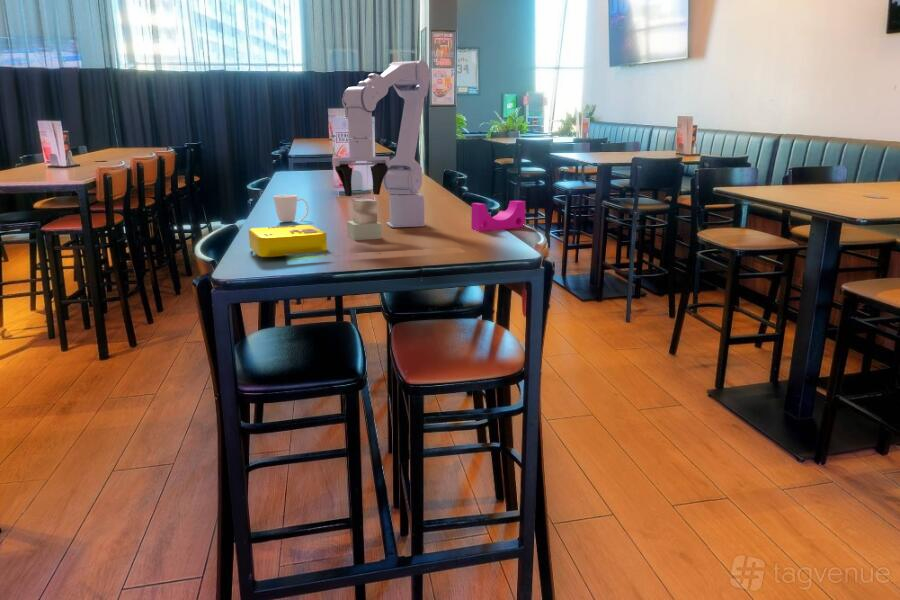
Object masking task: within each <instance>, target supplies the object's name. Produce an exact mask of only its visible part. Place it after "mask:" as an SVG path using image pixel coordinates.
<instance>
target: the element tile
mask: <svg viewBox="0 0 900 600" xmlns="http://www.w3.org/2000/svg"><path fill="white" fill-rule="evenodd" d="M248 241H249V248H250V249H251V250H253V251H252V252H254V253H255V254H256V255H257V256H258V257H261V258H275V257H276V258H277V257H286V256H287V255H294V254H308V253H320V252H326V251H328V240H327V232H326V231H324V230H321V229H319V228H318V227H316V226H313V225H312V224H303V225H302V224H301V225H293V224H292V225H285V226H284V225H281V226H280V225H277V226H268V227H267V226H266V227H253V228H252V227H251V228H250V229H249V230H248Z"/></svg>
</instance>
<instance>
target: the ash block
mask: <svg viewBox="0 0 900 600" xmlns="http://www.w3.org/2000/svg"><path fill="white" fill-rule="evenodd" d="M352 221H353V222H355V223H359V224H368V223H377V222H378V201H377V199H371V198H362V199H352Z"/></svg>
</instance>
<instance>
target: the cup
mask: <svg viewBox="0 0 900 600" xmlns="http://www.w3.org/2000/svg"><path fill="white" fill-rule="evenodd" d="M273 201H274V207H275V210H276V214H277V218H278V221H279V222H284V223H285V222H295V221H296V215H297V206H298V202H299V201H302V202H304V205H305V206H306V212H305V214H304V216H302V217H301V218H300V219H299V220H298V221H299V222H302V221H303V220H304V219H305V218H306V217H307V216H308V214H309V210H310V209H309V205H308V202H307V201H306V200H305V199H304V198H298V194H278V195H277V194H276V195H273Z"/></svg>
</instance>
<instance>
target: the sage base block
mask: <svg viewBox="0 0 900 600" xmlns="http://www.w3.org/2000/svg"><path fill="white" fill-rule="evenodd" d="M346 224H347V229H346V230H347V237H349V238H350V239H351V240H353V241H361V240H362V241H363V240H377V239H378V240H379V239H382V238H383V235H382V231H383V230H382V223H381V222H379V221H377V223H368V224H359V223H355V222H353V220H347V221H346Z"/></svg>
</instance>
